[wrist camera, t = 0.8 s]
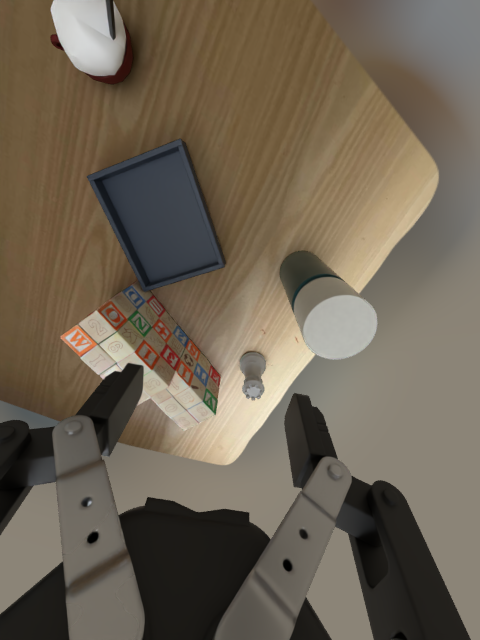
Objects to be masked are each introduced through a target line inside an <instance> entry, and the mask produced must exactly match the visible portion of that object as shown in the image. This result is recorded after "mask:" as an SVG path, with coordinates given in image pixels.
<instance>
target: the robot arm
mask: <svg viewBox="0 0 480 640" xmlns="http://www.w3.org/2000/svg"><path fill="white" fill-rule="evenodd" d="M143 375H144V366H143V365H138V364H132V363H128V364H127V365H126V366H125V367H124V369H123V370H122V371H121V372H119V371H114V372H112V373H111V374H109V375H108V376H106V377H105V378H104V380H103V381H102V382H101V383H100V385H99V386H98V387H97V388H96V390H95V392H93V393H92V395H91V396H90V397H89V398H88V400H87V401H86V402H85V404H84V405H83V406H82V407H81V409H80V410H79V411H78V412H77V414H76V415H75V416H71V417H68V418H66V419H64V420H62V421H61V422H59V423H58V424H57V425H56V426H54V427H49V428H39V429H29V426H28V424H27V423H25V422H23V421H20V420H11V421H7V422H3V423H0V535H1V533H2V532H3V530H4V529H5V527H6V526H7V524H8V523H9V521H10V520H11V518H12V517H13V515H14V514H15V513H16V511H17V510H18V508H19V507H20V505H21V504H22V502H23V501H24V499H25V497H26V496H27V495H28V493H29V492H30V490H31V489H32V487H33V486H34V485H40V484H46V483H52V482H56V490H57V501H58V511H59V522H60V533H61V544H62V555H63V562H62V563H60V564H59V565H58V566H57V567H56V568H54V569H53V570H52V571H51V572H50V573H49V574H47V575H46V576H45V577H44V578H43V579H42V580H40V581H39V582H38V583H37V584H36V585H34V586H33V587H32V588H31V589H30V590H28V591H27V592H26V593H25V594H24V595H22V596H21V597H20V598H19V599H18V600H17V601H16V602H14V603H13V604H12V605H11V606H10V607H8V608H7V609H6V610H5V611H4V612H2V613H1V614H0V640H332V639H331V638H330V636H329V634H328V633H327V631H326V630H325V628H324V626H323V625H322V623H321V621H320V620H319V618H318V616H317V615H316V613H315V611H314V610H313V608H312V606H311V605H310V603H309V601H308V600H307V598H306V595H307V592H308V590H309V588H310V585H311V583H312V580H313V578H314V576H315V573H316V571H317V568H318V566H319V563H320V561H321V559H322V556H323V554H324V552H325V549H326V547H327V544H328V542H329V540H330V537H331V535H332V532H333V530H334V528H335V527H337V528H339V529H341V530H343V531H345V532H347V533H348V535H349V539H350V543H351V547H352V551H353V556H354V560H355V564H356V568H357V572H358V576H359V580H360V584H361V588H362V592H363V597H364V601H365V605H366V609H367V613H368V617H369V621H370V626H371V630H372V634H373V638H374V640H471V639H470V637H469V635H468V633H467V631H466V628H465V627H464V624H463V622H462V620H461V618H460V616H459V613H458V611H457V609H456V607H455V605H454V602H453V600H452V598H451V596H450V594H449V592H448V589H447V587H446V585H445V583H444V581H443V579H442V576H441V575H440V572H439V570H438V568H437V566H436V564H435V562H434V559H433V557H432V555H431V553H430V551H429V549H428V547H427V544H426V542H425V540H424V538H423V535H422V533H421V531H420V529H419V527H418V525H417V522H416V520H415V518H414V516H413V514H412V512H411V510H410V507H409V505H408V503H407V501H406V499H405V497H404V496H403V495H402V493H401V492H400V491H399V490H398V489H397V488H396V487H394V486H393V485H391V484H390V483H388V482H385V481H381V480H380V481H376V482H374V483H373V485H372V486H371V485H369V484H367V483H365V482H363V481H361V480H358V479H356V478H355V477H353V476H351V474H350V472H349V470H348V468H347V467H346V466H345V465H344V464H343V463H342V462H340V461H339V460H338V458H337V455H336V452H335V449H334V446H333V443H332V440H331V437H330V434H329V433H328V428H327V426H326V422H325V419H324V416H323V414H322V413H321V412H320V410H319V409H318V408H317V407H313V406H312V405H311V401H310V398H309V396H307V395H302V394H296V393H294V394H293V396H292V399H291V401H290V404H289V406H288V409H287V412H286V415H285V423H284V424H285V432H286V438H287V445H288V451H289V458H290V465H291V472H292V478H293V485H294V487H299V488H302V491H300V493H299V494H298V496H297V498H296V499H295V501H294V503H293V504H292V506H291V507H290V509H289V511H288V512H287V514H286V516H285V517H284V519H283V520H282V522H281V524H280V525H279V527H278V529H277V530H276V532H275V534H274V535H273V537H272V539H270V538H269V537H268V536H267V535H266V534H265V532H263V531H262V530H261V529H260V528H258V527H257V526H256V525H254V524H253V523H250V522H249V513H248V512H242V511H235V510H229V509H221V510H213V511H207V512H195V511H193V510H191V509H189V508H187V507H185V506H182V505H180V504H178V503H176V502H174V501H169V500H163V499H156V498H150V497H148V498H147V501H146V503H145V506H141V507H137V508H133V509H130V510H128V511H126V512H124V513H122V514H120V515H118V512H117V508H116V504H115V500H114V496H113V492H112V488H111V484H110V481H109V476H108V472H107V468H106V465H105V462H104V460H102V457H101V455H103V456H110V454H111V453H112V451H113V449H114V447H115V445H116V443H117V441H118V440H119V438H120V436H121V434H122V432H123V430H124V428H125V426H126V425H127V423H128V421H129V419H130V417H131V415H132V413H133V412H134V410H135V408H136V406H137V404H138V402H139V400H140V398H141V395H142V391H143Z"/></svg>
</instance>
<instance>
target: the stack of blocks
mask: <svg viewBox="0 0 480 640" xmlns="http://www.w3.org/2000/svg"><path fill="white" fill-rule="evenodd" d="M60 338H61V339H62V340H63V341H64V342H65V343H66V344H67V345H68V346H70V347H71V348H72V349H73V350H74V351H75V352H76V353H77V354H78V355H79V356H81V360H83V361H84V362H85V363H86V364H87V365H88V366H89V367H90V368H91V369H92V370H94V371H95V372H96V373H97V374H98V375H99V374H100V376H101V378H103V379H104V378H105V377H106V376H108V375H109V374H111V373H112V372H114V371H119V372H121V371H122V370H123V369H124V367H125V366H126V365H127V364H128V363H132V364H138V365H143V366H144V375H143V391H142V395H141V398H140V400H139V402H138V404H137V405H139V404H141V403H142V402H144V401H146V400H148V399H149V398H151V399H152V400H153V401H154V402H155V403H156V404H157V406H158V407H159V408H160V409H161V410H162V411H163V412H164V413H165V414H166V415H167V416H168V417H169V418H171V419H172V420H173V421H174V422H175V423H176V424H177V425H178V426H179V427H180V428H181V429H182V430H183V431H185V430H187V429H189V428H191V427H193V426H195V425H197V424H199V423H200V422H202V421H204V420H206V419H208V418H210V417H212V416H214V415H216V409H217V403H218V400H217V398H218V393H219V385H220V379H221V376H220V375H219V374H218V373H217V372H216V371H215V369H214V368H213V367H212V366H211V364H210V363H209V361H208V360H207V359H206V358H205V357H204V355H203V354H202V353H201V352H200V351H199V349H198V348H197V347H196V346H195V345H194V343H193V342H192V341H191V340H190V339H189V338H188V337H187V336H186V334H185V333H184V332H183V331H182V330H181V328H180V327H179V326H178V325H177V324H176V323H175V321H174V320H173V319H172V318H171V317H170V315H169V314H168V313H167V312H166V311H165V309H164V307H163V306H162V305H161V304H160V303H159V301H158V300H157V299H156V298H155V296H154V295H153V294H152V293H151V291H150V290H149V291H146V292H144V291H143V289H142V287H141V285H140V283H139V281H138V280H137V281H136V282H135V283H133V284H132V285H131V286H129V287H128V288H126V289H125V290H123V291H122V292H120V293H118V294H117V295H115V296H114V297H112V298H111V299H110V300H108V301H107V302H106V303H105V304H103V305H102V306H101V307H99V308H98V309H96V310H95V311H94V312H92V313H91V314H89V315H88V316H87V317H86V318H84V319H83V320H82V321H80V322H79V323H78V324H76V326H74V327H73V328H72V329H70V330H69V331H68V332H66V333H65V334H63V335H62V336H61V337H60Z"/></svg>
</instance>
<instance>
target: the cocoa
mask: <svg viewBox="0 0 480 640" xmlns="http://www.w3.org/2000/svg"><path fill="white" fill-rule="evenodd" d="M51 13H52V17H53V21H54V24H55V28H56V31H57V34H54V35H51V37H50V38H51V42H52V44H53V45H54V46H55V47H56V48H58V49H61V50H63V51H65V52H66V54H67V55H68V57H69V58H70V60H71V61H72V63H73V64H74V66H75V67H76V68H77V69H79V70H80V71H83V72H85V73H86V74H87V75H88V76H89V77H91V78H92V79H94V80H97V81H100V82H104V83H108V84H115V83H119V82H122V81H123V80H124V79H125V78H126V77H127V75H128V74H129V73H130V71H131V66H132V62H133V53H132V46H131V39H130V35H129V32H128V30H127V28H126V26H125V24H124V22H123V20H122V18H121V15H120V13H119V11H118V9H117V7H116V5H115V3H114V1H113V0H54V1H53V4H52V7H51Z"/></svg>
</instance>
